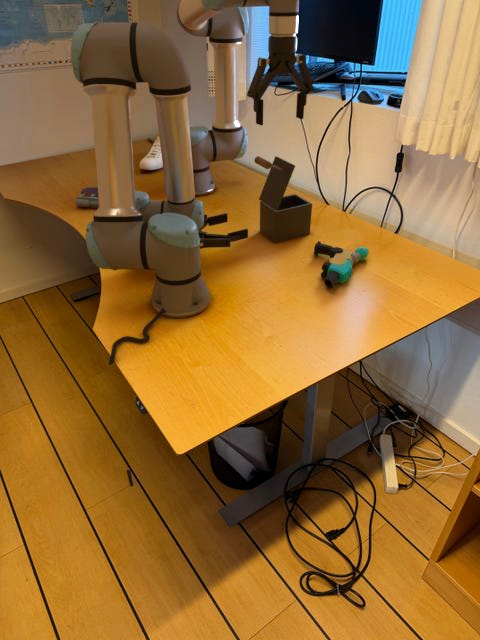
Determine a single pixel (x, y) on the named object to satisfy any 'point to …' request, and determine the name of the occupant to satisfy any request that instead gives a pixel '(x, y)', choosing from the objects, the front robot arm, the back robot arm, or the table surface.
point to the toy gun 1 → (88, 198)
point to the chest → (286, 219)
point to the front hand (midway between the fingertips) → (237, 225)
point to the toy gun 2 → (338, 262)
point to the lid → (275, 180)
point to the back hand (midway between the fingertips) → (279, 121)
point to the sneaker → (153, 157)
